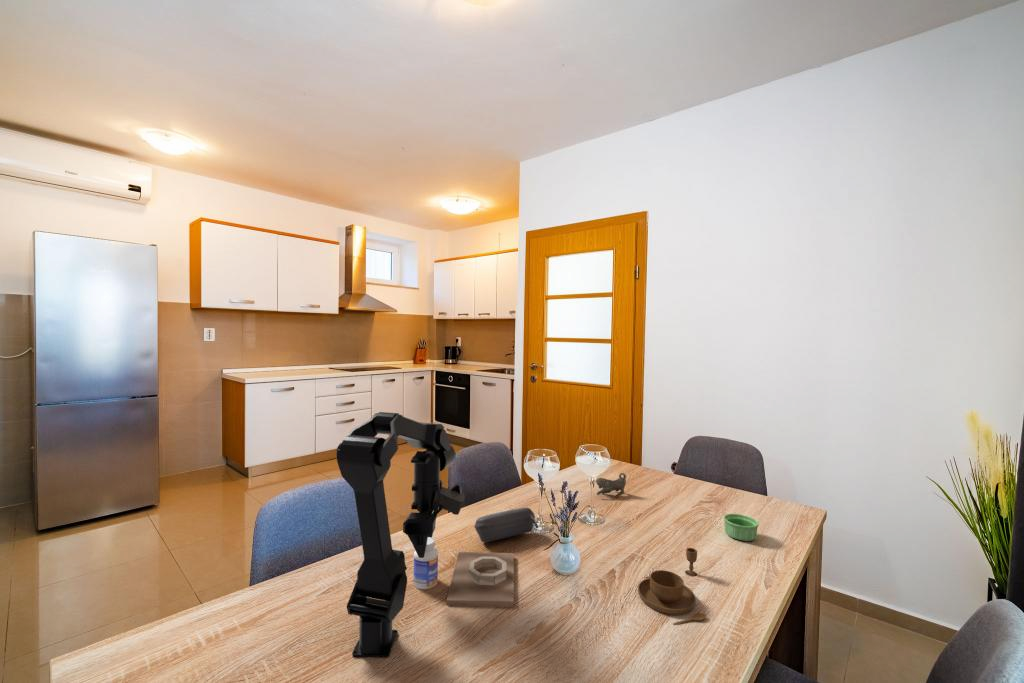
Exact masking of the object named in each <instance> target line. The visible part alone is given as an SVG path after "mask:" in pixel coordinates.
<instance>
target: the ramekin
mask: <svg viewBox="0 0 1024 683" xmlns="http://www.w3.org/2000/svg"><path fill="white" fill-rule="evenodd" d="M723 521H724V532H725V534H727V535H728V536H729V537H731V538H733V539H736V540H739V541H746V542H751V541H754V540H755V539H756V538H757V533H758V527H759V525H760V524H759V522H758V520H756V519H755V518H753V517H751V516H748V515H744V514H739V513H726V514H725V515H723Z"/></svg>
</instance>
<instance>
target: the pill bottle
mask: <svg viewBox="0 0 1024 683" xmlns="http://www.w3.org/2000/svg"><path fill="white" fill-rule="evenodd" d="M435 541H436V540H435V538H433V537H432V538H431V537H428V540H427V545H426V551H425V555H424V558H419V557H418V555H417V553H416V550H415V549H414V552H413V576H412V577H413V586H414V587H415V588H416V589H419V590H428V589H432V588H433V587H435V586H436V585H437V584H438V581H439V580H438V579H439V578H438V576H439V573H438V572H439V565H438V564H439V562H438V561H439V559H438V558H439V551H438V549H437V548H436V547H435V546H436V542H435Z"/></svg>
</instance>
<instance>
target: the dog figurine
mask: <svg viewBox="0 0 1024 683" xmlns="http://www.w3.org/2000/svg"><path fill="white" fill-rule="evenodd" d="M622 476H623V477H622ZM626 479H627V475H626V474H625V473H624V472H621V473H619V474H618V478H617V479H614V480H612V479H607V478H604V477H598V478H596V480H595V483H596V485H597V486H598V489H601V490H599V491H597V492H596V495H597V496H600V495H601V494H610V493H612V492H613V491H615V492H618V493H617V494H615V497H617V498H620V497H621V496H622V495H623V494H625V487H626V484H627V480H626Z"/></svg>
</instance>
